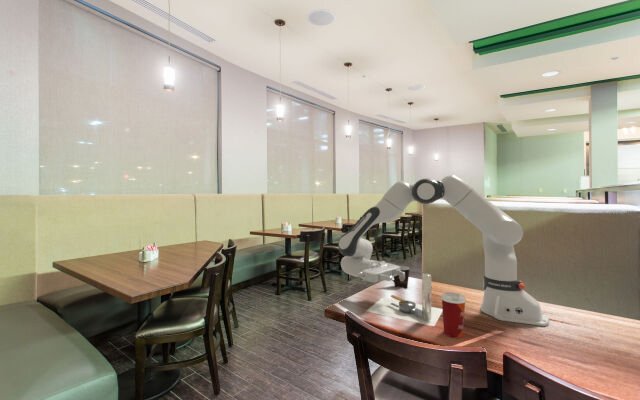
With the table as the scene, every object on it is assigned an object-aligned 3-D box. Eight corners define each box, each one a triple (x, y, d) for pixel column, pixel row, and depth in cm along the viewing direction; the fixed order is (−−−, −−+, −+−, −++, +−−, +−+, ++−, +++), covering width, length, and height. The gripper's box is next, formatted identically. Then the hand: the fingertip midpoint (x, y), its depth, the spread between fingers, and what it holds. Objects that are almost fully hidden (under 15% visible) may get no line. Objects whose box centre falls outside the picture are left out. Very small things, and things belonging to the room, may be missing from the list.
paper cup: (469, 343, 92) (469, 300, 92) (443, 341, 94) (443, 298, 93) (462, 332, 100) (462, 292, 100) (438, 330, 101) (438, 290, 101)
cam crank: (386, 304, 122) (386, 265, 122) (397, 301, 125) (397, 263, 125) (423, 322, 104) (423, 276, 104) (436, 319, 107) (436, 274, 107)
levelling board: (443, 312, 118) (443, 308, 118) (434, 329, 102) (434, 325, 102) (382, 300, 132) (382, 296, 132) (365, 314, 116) (365, 310, 116)
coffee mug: (411, 286, 153) (411, 267, 153) (406, 290, 146) (406, 270, 146) (390, 282, 159) (390, 264, 159) (384, 286, 152) (384, 267, 152)
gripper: (355, 266, 122) (382, 273, 111) (384, 260, 135) (410, 265, 125) (355, 281, 122) (382, 289, 111) (384, 273, 135) (410, 279, 125)
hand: (397, 276), depth 118 cm, fingers open, 8 cm apart
